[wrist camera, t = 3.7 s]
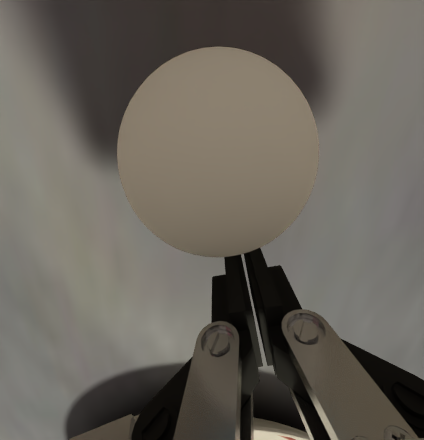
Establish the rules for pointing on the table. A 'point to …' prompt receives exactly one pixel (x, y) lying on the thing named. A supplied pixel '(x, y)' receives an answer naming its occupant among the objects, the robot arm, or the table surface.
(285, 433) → the dinner plate
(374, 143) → the table surface
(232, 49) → the ball
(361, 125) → the table surface
